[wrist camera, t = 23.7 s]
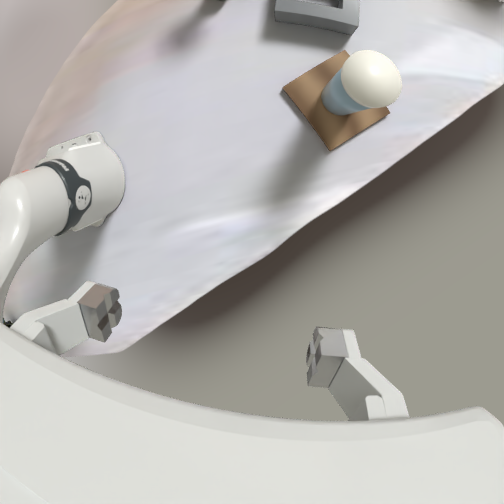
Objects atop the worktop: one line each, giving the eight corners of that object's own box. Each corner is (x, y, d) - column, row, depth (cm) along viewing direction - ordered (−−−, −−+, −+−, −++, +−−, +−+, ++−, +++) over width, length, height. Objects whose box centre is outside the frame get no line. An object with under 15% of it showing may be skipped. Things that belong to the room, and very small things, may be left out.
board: (329, 150, 39) (330, 150, 38) (282, 88, 36) (282, 87, 35) (388, 113, 35) (390, 113, 34) (343, 51, 32) (345, 49, 31)
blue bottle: (318, 112, 36) (340, 98, 20) (322, 77, 33) (345, 43, 18) (355, 120, 35) (398, 114, 20) (359, 85, 33) (403, 60, 18)
